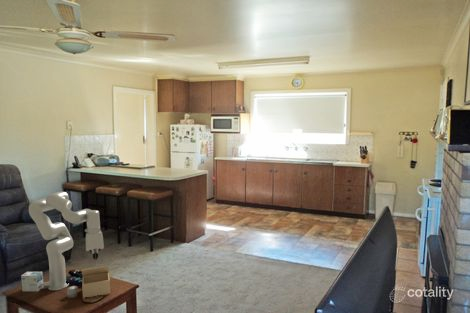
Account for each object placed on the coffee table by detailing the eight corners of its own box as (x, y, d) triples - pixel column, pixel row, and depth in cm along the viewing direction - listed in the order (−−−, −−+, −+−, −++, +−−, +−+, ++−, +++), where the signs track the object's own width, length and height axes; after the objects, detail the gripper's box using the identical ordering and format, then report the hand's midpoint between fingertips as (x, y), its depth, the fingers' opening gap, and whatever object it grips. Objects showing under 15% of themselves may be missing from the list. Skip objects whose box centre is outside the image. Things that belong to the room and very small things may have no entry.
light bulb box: (43, 287, 239) (42, 271, 238) (37, 291, 232) (36, 275, 231) (28, 286, 240) (27, 271, 239) (21, 291, 233) (20, 275, 232)
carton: (82, 298, 222) (82, 284, 221) (83, 289, 235) (82, 275, 234) (110, 293, 228) (109, 280, 227) (109, 284, 241) (108, 271, 240)
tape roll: (67, 298, 222) (66, 290, 222) (67, 294, 228) (67, 286, 228) (77, 296, 225) (77, 289, 224) (78, 292, 230) (77, 285, 230)
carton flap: (81, 270, 223) (81, 269, 223) (82, 275, 234) (82, 274, 235) (109, 266, 229) (108, 265, 229) (108, 271, 240) (108, 270, 240)
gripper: (80, 233, 218) (82, 263, 220) (106, 230, 224) (108, 259, 225) (81, 230, 225) (82, 258, 227) (106, 227, 231) (108, 255, 232)
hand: (95, 258), depth 226 cm, fingers closed
